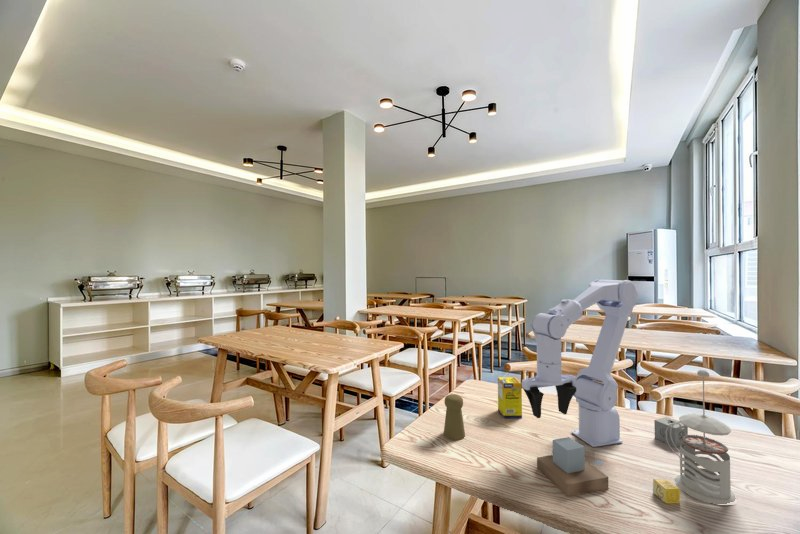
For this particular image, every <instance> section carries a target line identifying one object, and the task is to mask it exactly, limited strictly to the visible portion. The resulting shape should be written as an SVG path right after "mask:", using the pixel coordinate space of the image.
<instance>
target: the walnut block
mask: <svg viewBox="0 0 800 534" xmlns="http://www.w3.org/2000/svg"><path fill="white" fill-rule="evenodd" d="M536 469H537V470H538V471H540V473H542V474H543V475H544V476H545V477H546V478H547V479H548V480H549V481H550V482H551V483H552V484H554V486H555V487H557V488H558V490H560V492H562V493H563V494H564V495H565V496H566V497H568V498H569V497H573V496H579V495H583V494H588V493H589V494H590V493H595V492H600V491H604V490H609V476H608V475H606V474H605V473H604V472H602V471H601V470H600V469H598V468H597V467H596V466H594V465H593V464H591V463H590V462H589V461H587V460H586V459H585V470H582V471H578V472H573V473H566V472H565V471H564V470H562V469H561V468H560V467H559V466H557V465H556V464H555V463H553V454H551V455H550V454H549V455H544V456H539V457H536Z"/></svg>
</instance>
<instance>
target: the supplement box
mask: <svg viewBox="0 0 800 534" xmlns="http://www.w3.org/2000/svg"><path fill="white" fill-rule="evenodd" d="M522 389H523V388H522V381H520V380H519V379H518V378H517V377H516V376H498V377H497V408H498V409H497V410H498V412H499V413H500V415H501V417H502V418H503V419H522V418H523V406H522V405H523V403H522V400H523V397H522V396H523V395H522V391H523V390H522Z"/></svg>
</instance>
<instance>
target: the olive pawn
mask: <svg viewBox="0 0 800 534" xmlns="http://www.w3.org/2000/svg"><path fill="white" fill-rule="evenodd" d="M444 405H445V408H446V410H445V419H444V420H445V421H444V428H443V437H444V436H445V437H444V438H445V439H447V440H450V441H463V440H464V439H465V438H466V431H465V424H464V423H465V422H464V417H463V409H462V408H463V407H464V399H463V397H462V396H461V395H459V394H456V393H450V394H447V395H446V396H445V398H444ZM464 437H465V438H464Z"/></svg>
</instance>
